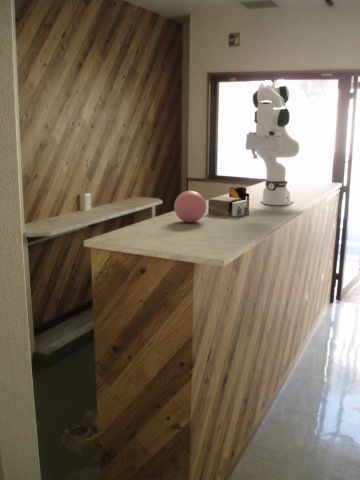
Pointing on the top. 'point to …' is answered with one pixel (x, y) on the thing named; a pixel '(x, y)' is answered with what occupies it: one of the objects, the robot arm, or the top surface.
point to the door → (238, 207)
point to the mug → (239, 193)
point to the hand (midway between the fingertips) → (263, 158)
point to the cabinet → (224, 206)
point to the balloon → (190, 206)
